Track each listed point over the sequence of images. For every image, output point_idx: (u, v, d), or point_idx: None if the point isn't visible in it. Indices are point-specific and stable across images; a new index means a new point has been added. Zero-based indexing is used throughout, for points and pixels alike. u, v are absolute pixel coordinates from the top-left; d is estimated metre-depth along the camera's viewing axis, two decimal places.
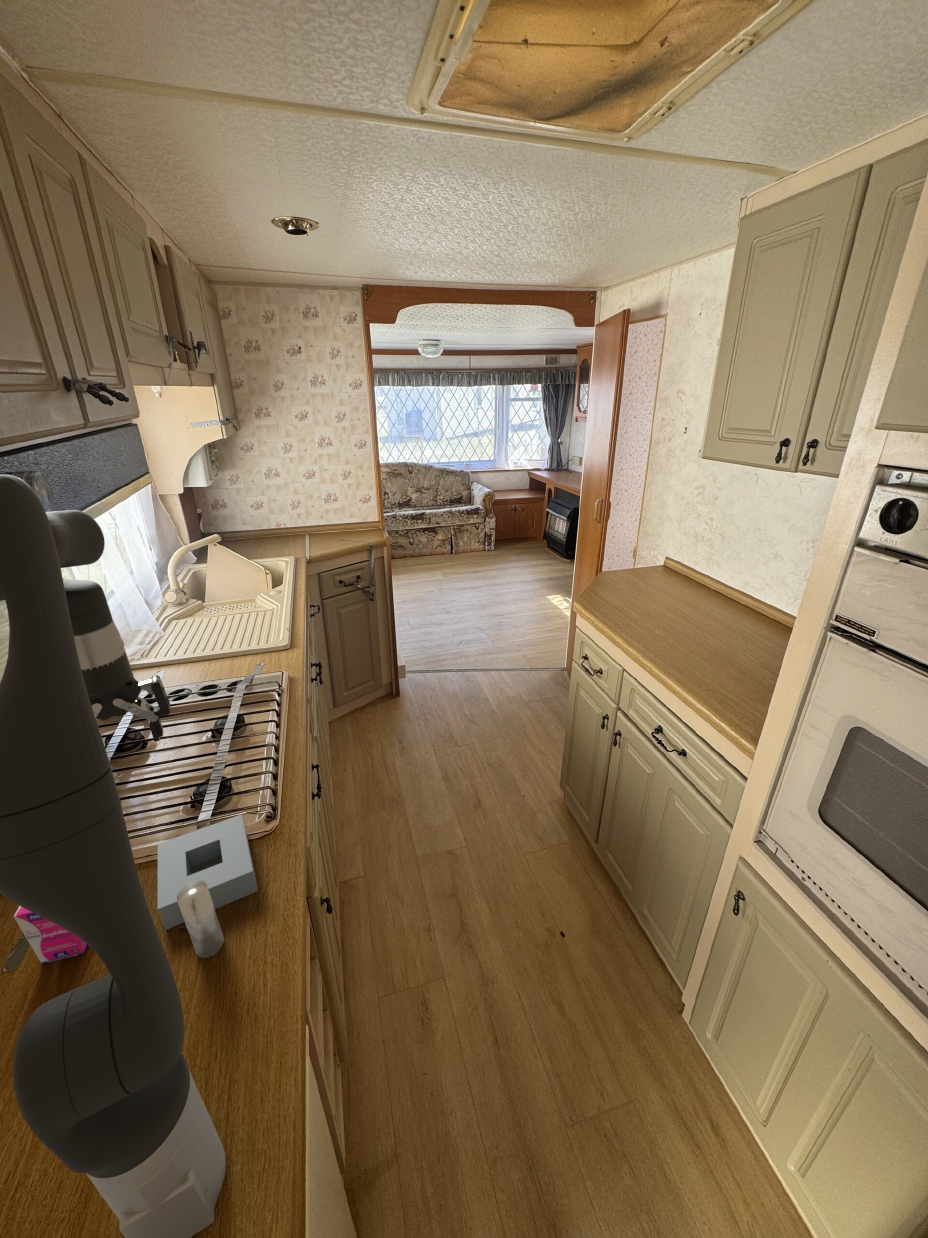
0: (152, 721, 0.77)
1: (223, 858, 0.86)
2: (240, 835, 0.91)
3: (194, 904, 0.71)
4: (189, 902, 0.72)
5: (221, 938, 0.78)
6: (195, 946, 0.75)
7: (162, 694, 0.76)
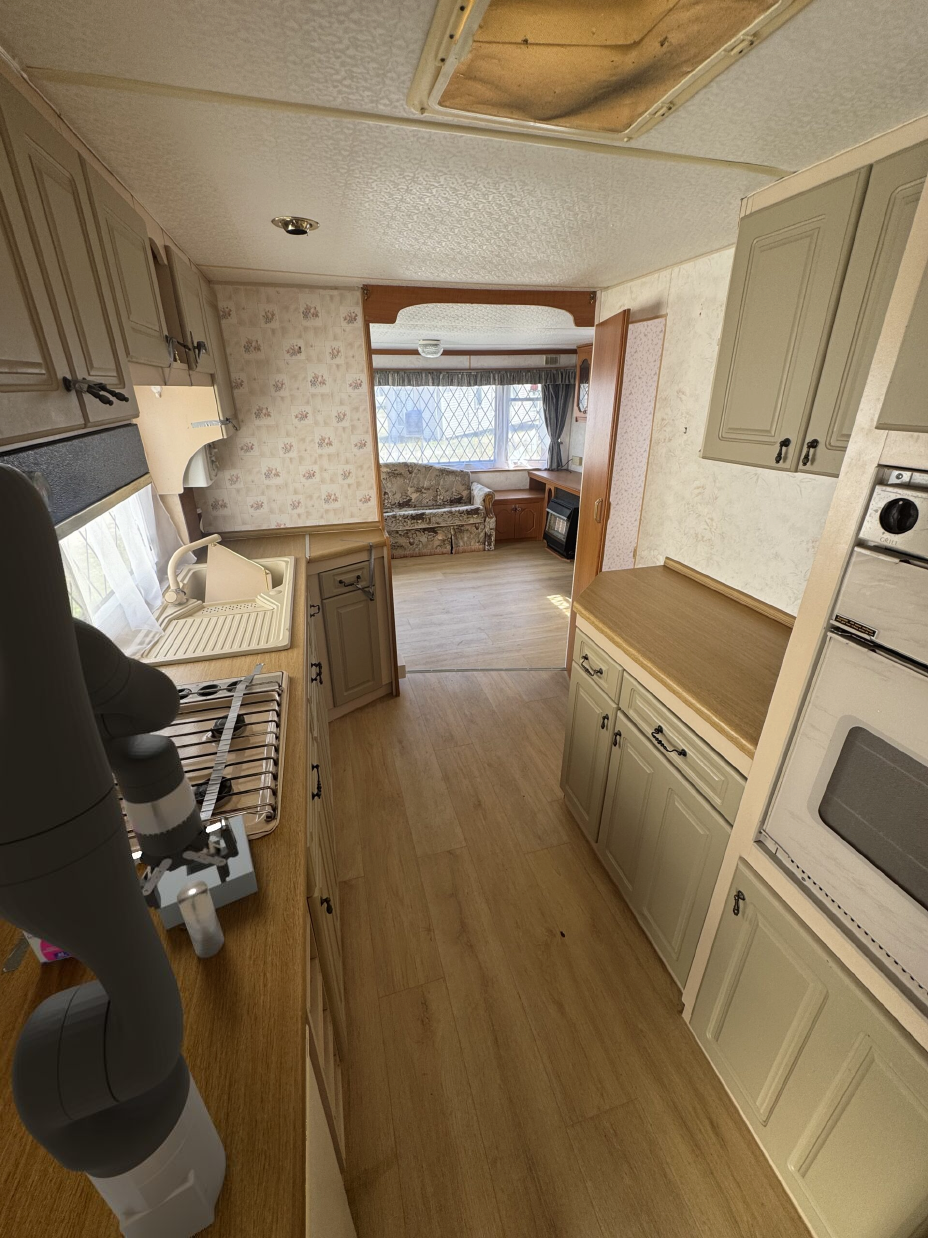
0: (220, 865, 0.72)
1: None
2: (240, 835, 0.91)
3: (194, 904, 0.71)
4: (189, 902, 0.72)
5: (221, 938, 0.78)
6: (195, 946, 0.75)
7: (231, 838, 0.71)
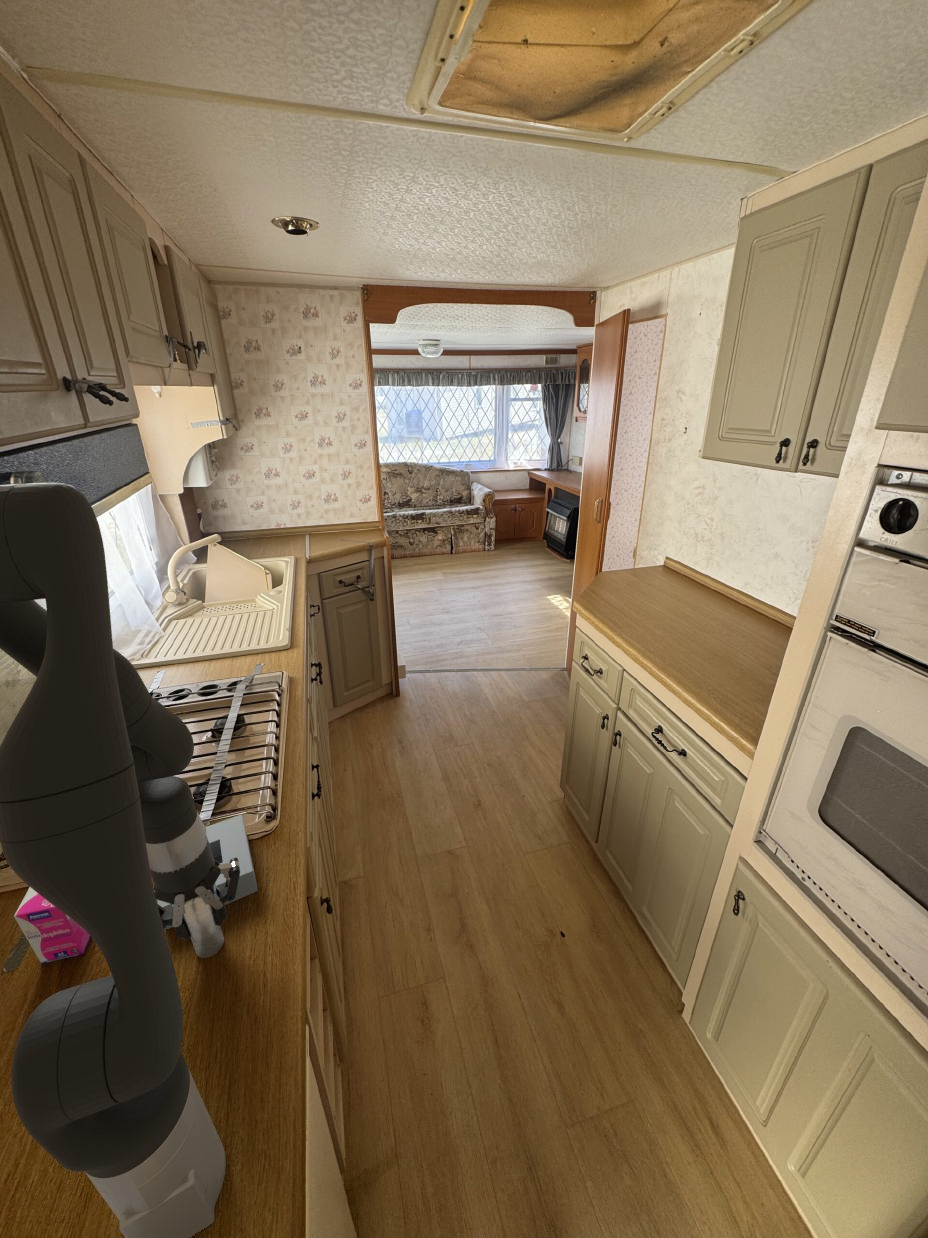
0: (217, 909, 0.75)
1: (223, 858, 0.86)
2: (240, 835, 0.91)
3: (194, 904, 0.71)
4: (189, 902, 0.72)
5: (221, 938, 0.78)
6: (195, 946, 0.75)
7: (237, 881, 0.75)
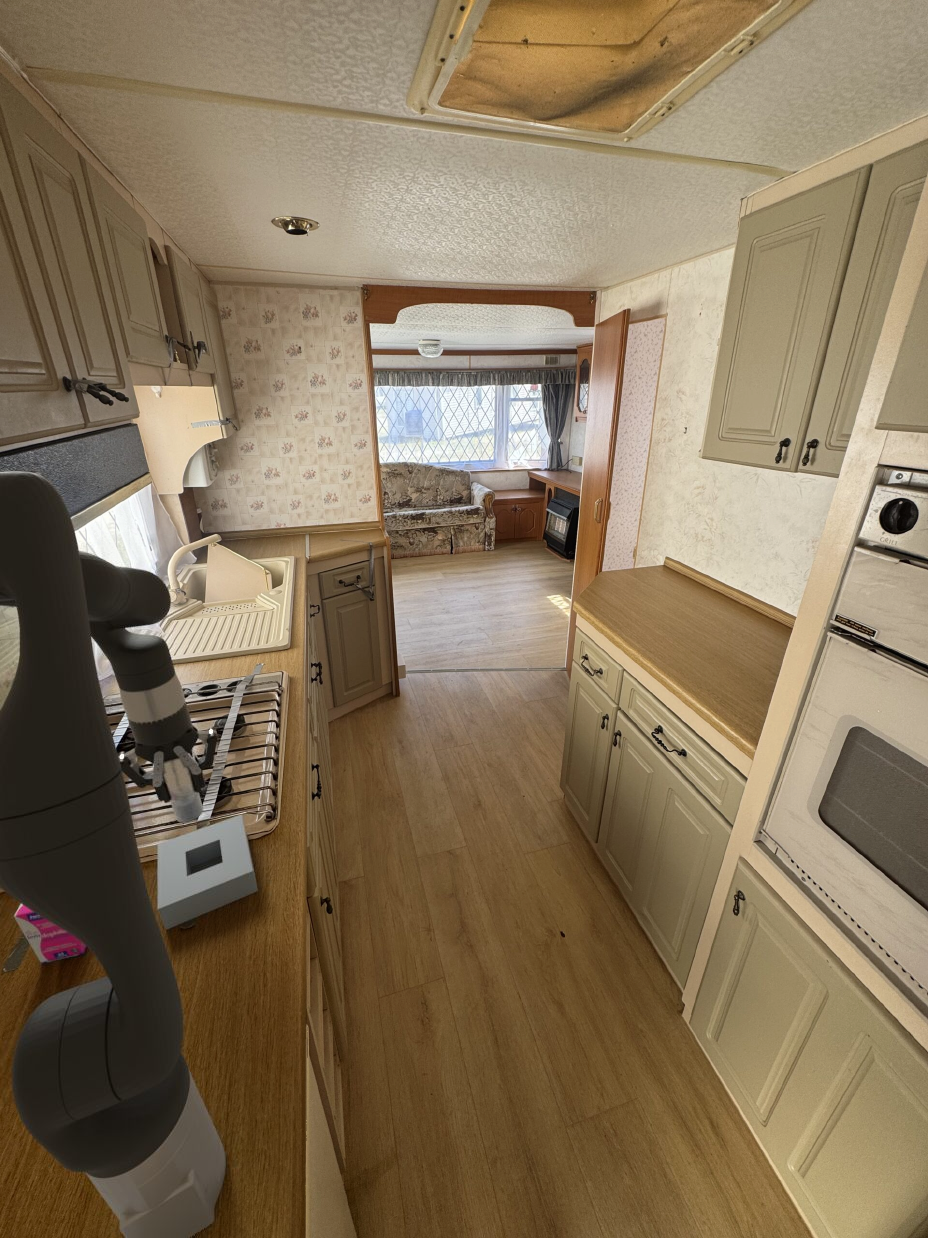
0: (195, 774, 0.79)
1: (223, 858, 0.86)
2: (240, 835, 0.91)
3: (173, 763, 0.76)
4: (168, 761, 0.76)
5: (200, 806, 0.82)
6: (175, 810, 0.80)
7: (214, 748, 0.79)
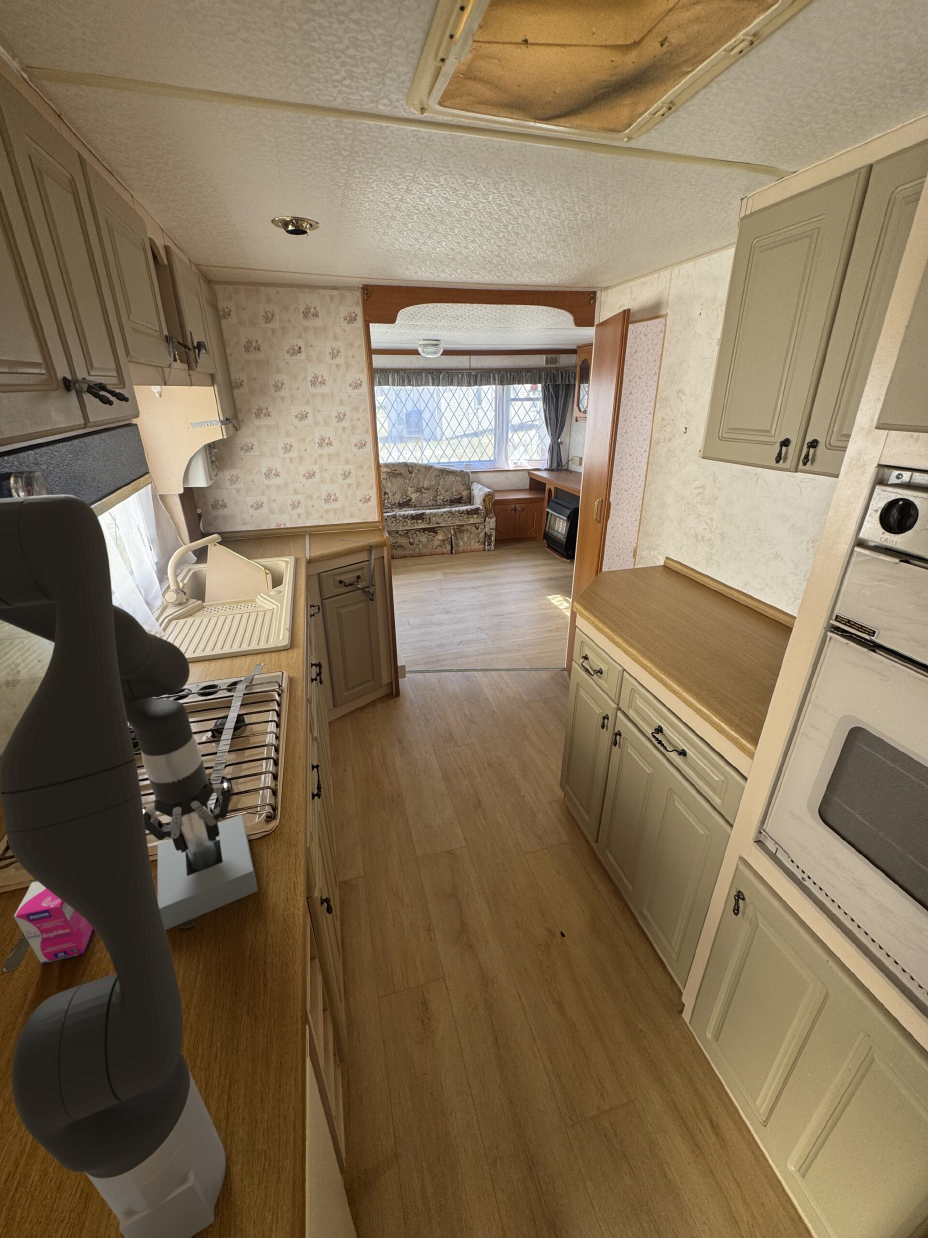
0: (211, 825, 0.84)
1: (223, 858, 0.86)
2: (240, 835, 0.91)
3: (190, 817, 0.80)
4: (185, 815, 0.81)
5: (214, 853, 0.87)
6: (191, 858, 0.84)
7: (228, 800, 0.84)
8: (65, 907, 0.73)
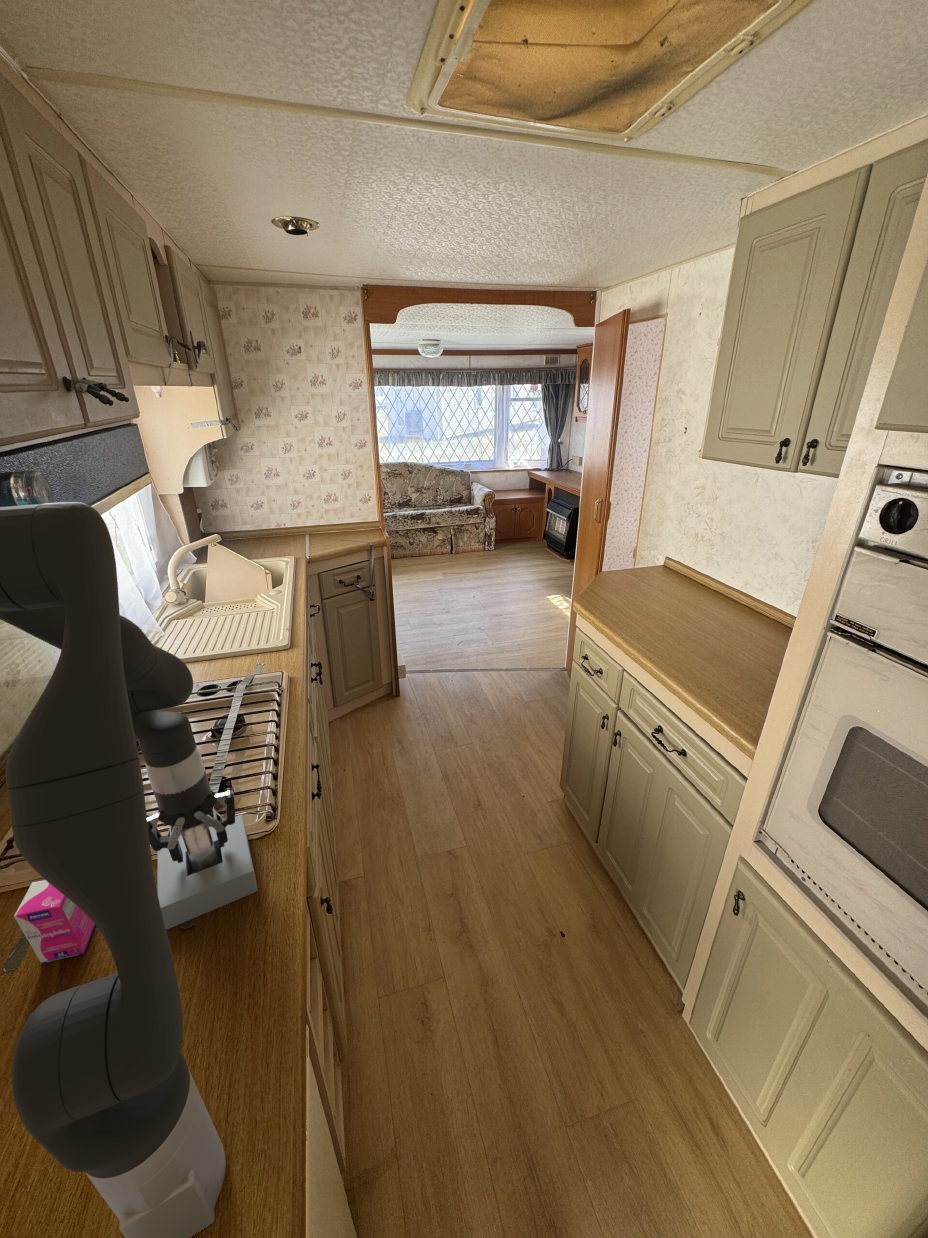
0: (219, 831, 0.85)
1: (223, 858, 0.86)
2: (240, 835, 0.91)
3: (195, 831, 0.82)
4: (190, 829, 0.82)
5: None
6: (195, 871, 0.86)
7: (233, 807, 0.84)
8: (66, 907, 0.73)
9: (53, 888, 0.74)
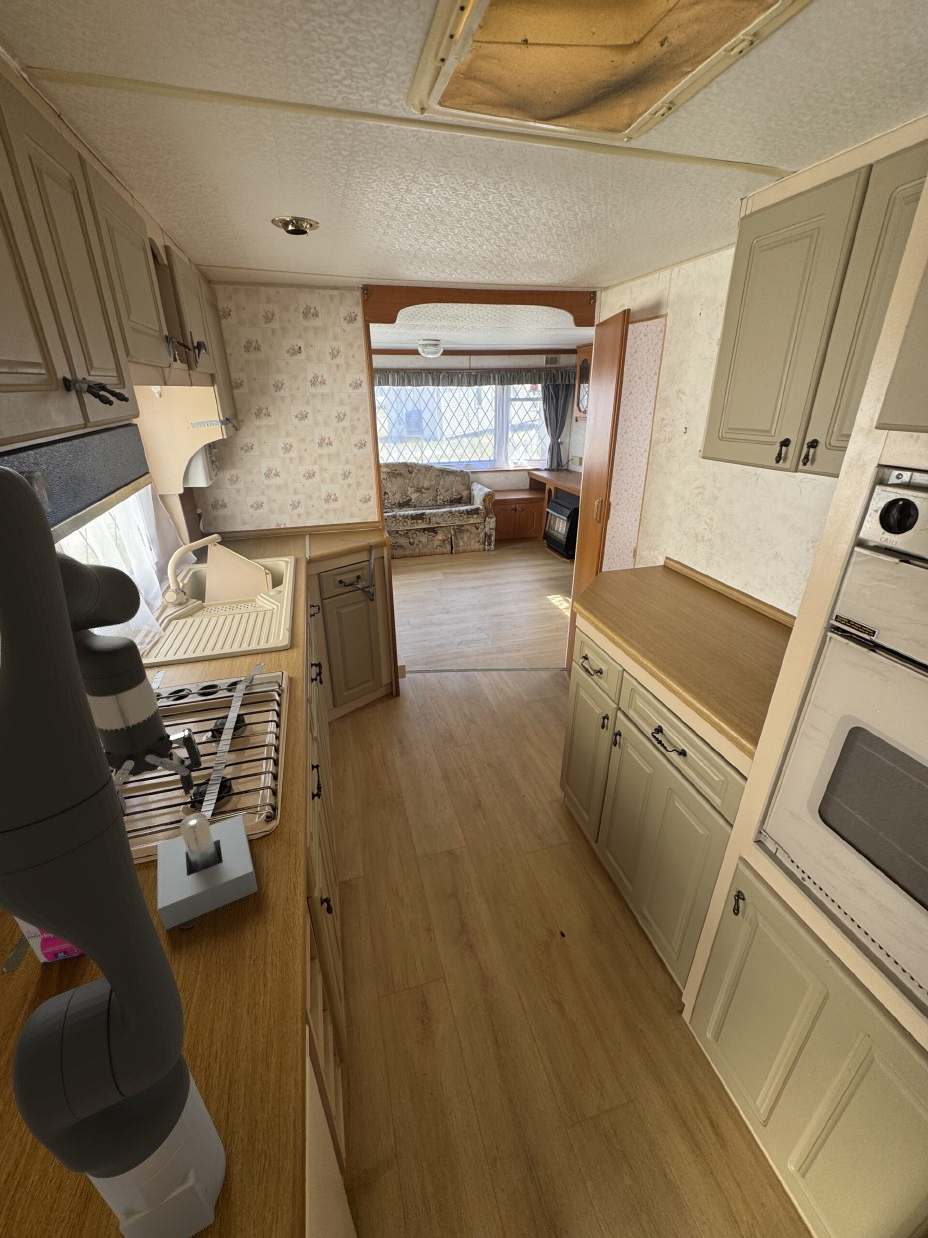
0: (183, 775, 0.75)
1: (223, 858, 0.86)
2: (240, 835, 0.91)
3: (195, 830, 0.82)
4: (190, 829, 0.82)
5: None
6: (195, 871, 0.86)
7: (194, 748, 0.74)
8: None
9: None
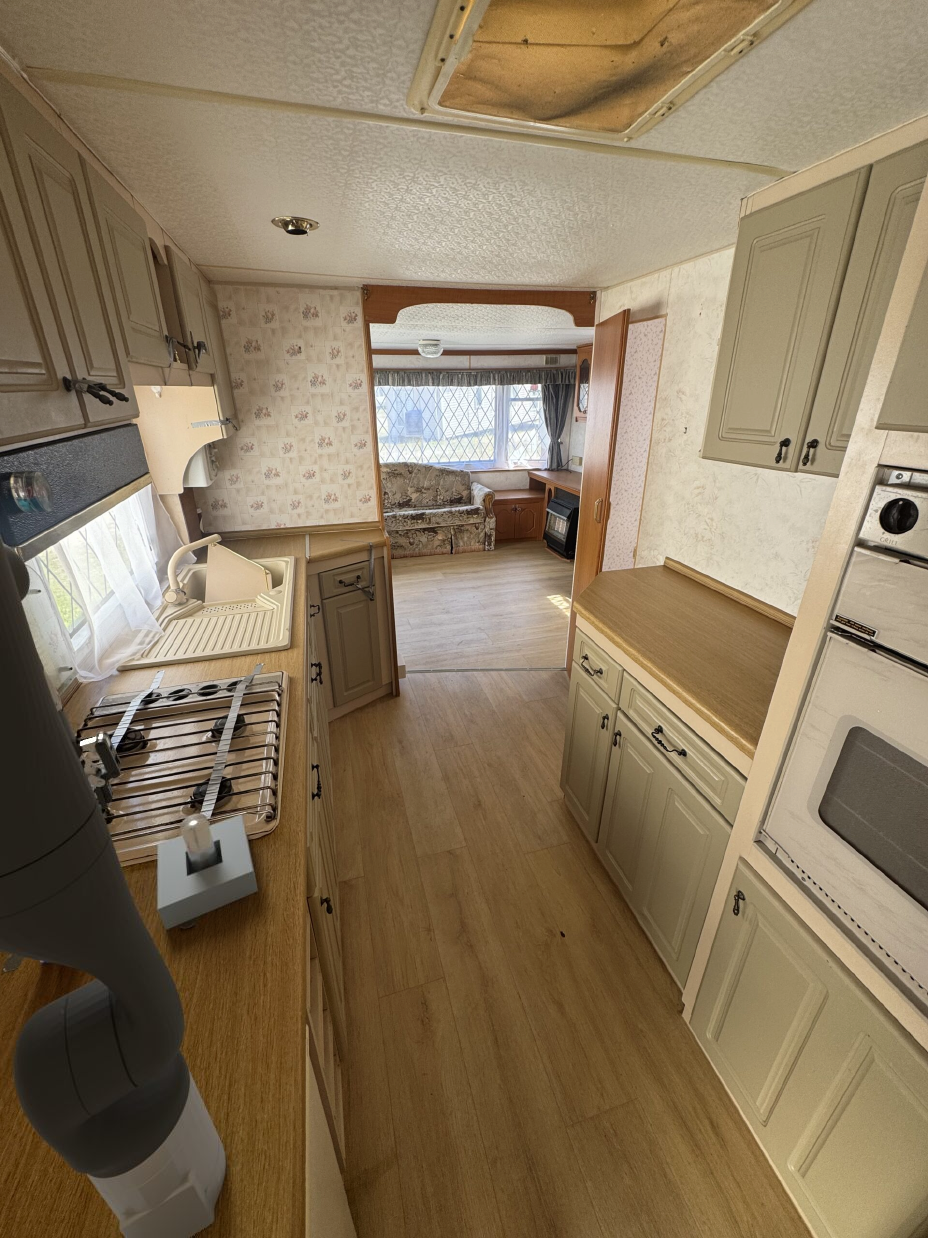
0: (98, 786, 0.65)
1: (223, 858, 0.86)
2: (240, 835, 0.91)
3: (196, 831, 0.82)
4: (190, 830, 0.82)
5: None
6: (195, 872, 0.85)
7: (109, 755, 0.64)
8: None
9: None
